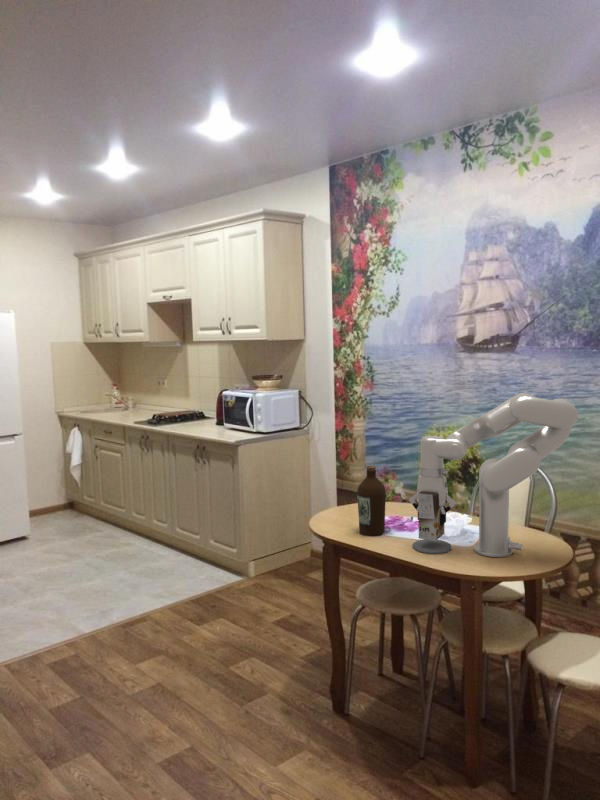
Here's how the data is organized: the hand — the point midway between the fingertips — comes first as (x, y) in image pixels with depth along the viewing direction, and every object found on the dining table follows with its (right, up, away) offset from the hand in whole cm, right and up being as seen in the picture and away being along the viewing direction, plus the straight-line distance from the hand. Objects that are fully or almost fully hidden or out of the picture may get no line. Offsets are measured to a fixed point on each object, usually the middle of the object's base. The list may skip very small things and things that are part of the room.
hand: (431, 522), depth 225 cm
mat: (0, -9, +1) cm, 9 cm away
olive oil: (-19, -7, +20) cm, 28 cm away
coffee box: (0, -5, 0) cm, 5 cm away
